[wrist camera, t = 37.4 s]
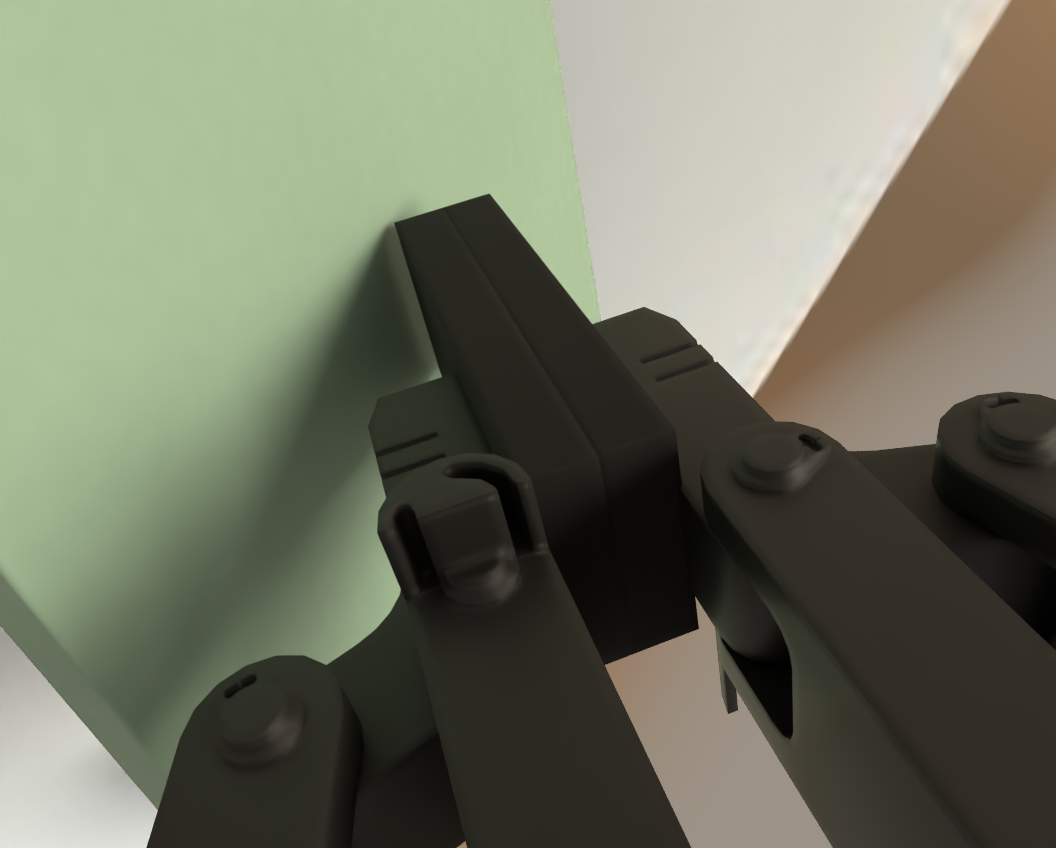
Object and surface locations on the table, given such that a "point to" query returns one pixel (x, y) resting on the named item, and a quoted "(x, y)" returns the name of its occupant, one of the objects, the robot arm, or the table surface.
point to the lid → (233, 317)
